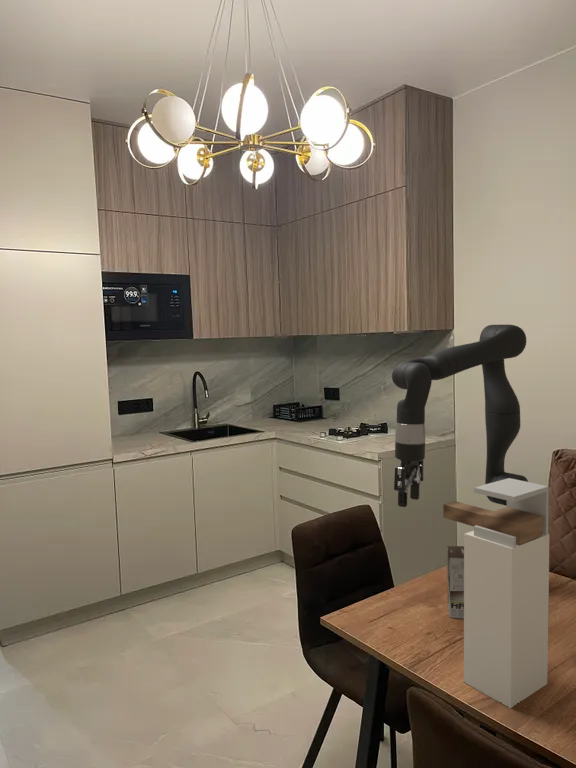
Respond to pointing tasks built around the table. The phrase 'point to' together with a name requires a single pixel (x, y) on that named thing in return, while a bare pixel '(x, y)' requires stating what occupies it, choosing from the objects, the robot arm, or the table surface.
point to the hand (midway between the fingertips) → (408, 502)
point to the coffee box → (455, 581)
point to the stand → (507, 600)
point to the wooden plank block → (497, 520)
